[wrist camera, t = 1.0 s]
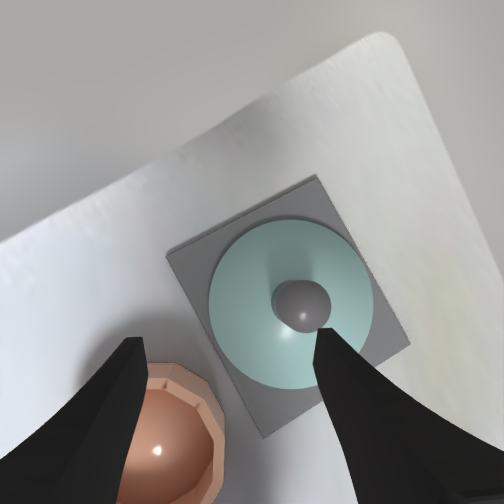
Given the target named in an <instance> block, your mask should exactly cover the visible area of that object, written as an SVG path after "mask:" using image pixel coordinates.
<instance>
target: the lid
mask: <svg viewBox="0 0 504 504" xmlns="http://www.w3.org/2000/svg"><path fill="white" fill-rule="evenodd" d="M209 315H210V321H211V326H212V329H213V332H214V335H215V338H216V340H217V342H218V344H219V346H220V348H221V349H222V351H223V352H224V354H225V356H226V357H227V358H228V359H229V360H230V362H231V363H232V364H233V365H234V366H235V367H236V368H238V369H239V370H240V371H241V372H242V373H244V374H245V375H247V376H248V377H249V378H251V379H253V380H255V381H257V382H259V383H262V384H264V385H267V386H270V387H275V388H280V389H303V388H308V387H312V386H316V385H318V384H317V380H316V377H315V373H314V369H313V365H312V363H313V357H314V350H315V344H316V337H317V330H318V328H333V329H334V330H335V331H336V332H337V333H338V334H339V335H340V336H341V337H342V338H343V339H344V340H345V341H346V342H347V343H348V344H349V345H350V346H351V347H352V348H353V349H354V350H355V351H357V352H358V353H359V352H360V350H361V349H362V347H363V345H364V343H365V341H366V339H367V336H368V334H369V330H370V327H371V323H372V317H373V292H372V287H371V282H370V279H369V276H368V273H367V271H366V269H365V267H364V264H363V262H362V261H361V259H360V258H359V256H358V255H357V253H356V252H355V251H354V250H353V248H352V247H351V246H350V245H349V244H348V243H347V242H346V241H345V240H344V239H343V238H341V237H340V236H339V235H337V234H336V233H334V232H333V231H331V230H329V229H327V228H325V227H323V226H321V225H318V224H316V223H312V222H308V221H303V220H279V221H273V222H270V223H266V224H263V225H261V226H259V227H256V228H254V229H252V230H251V231H249V232H247V233H246V234H244V235H243V236H242V237H240V238H239V239H238V240H237V241H236V242H235V243H234V244H233V245H232V246H231V247H230V248H229V249H228V250H227V252H226V253H225V254H224V256H223V257H222V259H221V261H220V262H219V264H218V266H217V268H216V271H215V273H214V276H213V279H212V283H211V287H210V293H209Z"/></svg>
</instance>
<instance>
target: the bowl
mask: <svg viewBox="0 0 504 504" xmlns="http://www.w3.org/2000/svg"><path fill="white" fill-rule="evenodd" d="M147 367H148V373H149V375H148V381H147V387H146V393H145V398H144V402H143V405H142V409H141V412H140V416H139V419H138V422H137V425H136V429H135V432H134V435H133V439H132V442H131V445H130V449H129V452H128V455H127V458H126V462H125V466H124V469H123V473H122V478H121V482H120V487H119V492H118V497H117V501H116V504H213V502H214V500H215V499H216V497H217V495H218V493H219V491H220V490H221V488H222V486H223V484H224V449H225V422H224V412H223V410H222V408H221V407H220V405H219V403H218V401H217V399H216V397H215V395H214V393H213V392H212V390H211V388H210V386H209V384H208V382H207V381H206V380H204V379H202V378H201V377H199V376H197V375H196V374H194V373H192V372H190V371H189V370H187V369H185V368H184V367H182V366H180V365H179V364H177V363H147Z"/></svg>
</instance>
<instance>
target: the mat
mask: <svg viewBox="0 0 504 504" xmlns="http://www.w3.org/2000/svg"><path fill="white" fill-rule="evenodd" d="M279 220H303V221H308V222H312V223H316V224H318V225H321V226H323V227H325V228H327V229H329V230H331V231H333V232H334V233H336V234H337V235H339V236H340V237H341V238H343V239H344V240H345V241H346V242H347V243H348V244H349V245H350V246H351V247H352V248H353V250H354V251H355V252H356V253H357V255H358V256H359V258H360V259H361V261H362V262H363V264H364V267H365V269H366V271H367V273H368V276H369V279H370V282H371V287H372V292H373V317H372V323H371V327H370V330H369V334H368V336H367V339H366V341H365V343H364V345H363V347H362V349H361V350H360V352H359V354H360V355H361V356H362V357H363V358H364V359H365V360H366V361H367V362H368V363H370V364H371V365H372V366H373V367H376V366H378V365H379V364H381V363H382V362H384V361H385V360H387V359H389V358H390V357H392V356H393V355H395V354H396V353H398V352H399V351H401V350H403V349H404V348H406V347H407V346H409V345H410V344H411V343H410V342H409V340H408V338H407V336H406V335H405V333H404V331H403V329H402V327H401V326H400V324H399V322H398V320H397V318H396V317H395V315H394V313H393V311H392V309H391V308H390V306H389V304H388V302H387V300H386V299H385V297H384V295H383V293H382V292H381V290H380V288H379V286H378V284H377V283H376V281H375V279H374V277H373V275H372V274H371V272H370V270H369V268H368V266H367V265H366V263H365V261H364V259H363V258H362V256H361V254H360V252H359V250H358V249H357V247H356V245H355V243H354V241H353V240H352V238H351V236H350V234H349V232H348V231H347V229H346V227H345V225H344V224H343V222H342V220H341V218H340V216H339V215H338V213H337V211H336V209H335V207H334V206H333V204H332V202H331V200H330V198H329V197H328V195H327V193H326V191H325V190H324V188H323V186H322V184H321V182H320V181H319V179H318V178H316V179H314V180H312V181H310V182H308V183H306V184H305V185H303V186H301V187H299V188H297V189H295V190H293V191H291V192H289V193H287V194H285V195H283V196H281V197H280V198H278V199H276V200H274V201H272V202H270V203H268V204H266V205H264V206H262V207H260V208H258V209H257V210H255V211H253V212H251V213H249V214H247V215H245V216H243V217H241V218H239V219H237V220H235V221H234V222H232V223H230V224H228V225H226V226H224V227H222V228H220V229H218V230H216V231H214V232H212V233H211V234H209V235H207V236H205V237H203V238H201V239H199V240H197V241H195V242H193V243H191V244H189V245H188V246H186V247H184V248H182V249H180V250H178V251H176V252H174V253H172V254H170V255H168V256H166V258H167V260H168V262H169V264H170V266H171V268H172V269H173V271H174V273H175V275H176V277H177V279H178V281H179V282H180V284H181V286H182V288H183V290H184V292H185V294H186V296H187V297H188V299H189V301H190V303H191V305H192V307H193V309H194V310H195V312H196V314H197V316H198V318H199V320H200V322H201V323H202V325H203V327H204V329H205V331H206V333H207V335H208V337H209V338H210V340H211V342H212V344H213V346H214V348H215V350H216V351H217V353H218V355H219V357H220V359H221V361H222V363H223V364H224V366H225V368H226V370H227V372H228V374H229V376H230V377H231V379H232V381H233V383H234V385H235V387H236V389H237V391H238V392H239V394H240V396H241V398H242V400H243V402H244V404H245V405H246V407H247V409H248V411H249V413H250V415H251V417H252V418H253V420H254V422H255V424H256V426H257V428H258V430H259V431H260V433H261V435H262V437H263V439H264V438H265V437H267V436H268V435H270V434H271V433H273V432H275V431H276V430H278V429H279V428H281V427H282V426H284V425H285V424H287V423H289V422H290V421H292V420H293V419H295V418H296V417H298V416H300V415H301V414H303V413H304V412H306V411H307V410H309V409H310V408H312V407H314V406H315V405H317V404H318V403H320V402H321V401H323V398H322V395H321V393H320V390H319V388H318V385H316V386H312V387H308V388H303V389H280V388H275V387H270V386H267V385H264V384H262V383H259V382H257V381H255V380H253V379H251V378H249V377H248V376H247V375H245V374H244V373H242V372H241V371H240V370H239V369H238V368H236V367H235V366H234V365H233V364H232V363H231V362H230V360H229V359H228V358H227V357H226V356H225V354H224V352H223V351H222V349H221V348H220V346H219V344H218V342H217V340H216V338H215V335H214V332H213V329H212V326H211V321H210V315H209V293H210V287H211V283H212V279H213V276H214V273H215V271H216V268H217V266H218V264H219V262H220V261H221V259H222V257H223V256H224V254H225V253H226V252H227V250H228V249H229V248H230V247H231V246H232V245H233V244H234V243H235V242H236V241H237V240H238V239H239V238H240V237H242V236H243V235H244V234H246V233H247V232H249V231H251V230H252V229H254V228H256V227H259V226H261V225H263V224H266V223H270V222H273V221H279Z"/></svg>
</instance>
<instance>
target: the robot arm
mask: <svg viewBox="0 0 504 504" xmlns="http://www.w3.org/2000/svg"><path fill="white" fill-rule="evenodd" d="M312 365H313V369H314V373H315V377H316V380H317V384H318V388H319V390H320V393H321V395H322V398H323V401H324V403H325V406H326V408H327V411H328V413H329V416H330V418H331V421H332V423H333V426H334V429H335V431H336V434H337V436H338V439H339V441H340V444H341V447H342V450H343V452H344V456H345V459H346V462H347V466H348V469H349V472H350V476H351V479H352V483H353V486H354V490H355V494H356V497H357V501H358V504H504V451H502V450H500V449H498V448H496V447H494V446H492V445H490V444H488V443H486V442H484V441H482V440H480V439H478V438H477V437H475V436H473V435H471V434H469V433H468V432H466V431H464V430H462V429H460V428H459V427H457V426H455V425H454V424H452V423H450V422H449V421H447V420H445V419H444V418H442V417H441V416H439V415H438V414H436V413H434V412H433V411H431V410H430V409H428V408H427V407H425V406H424V405H422V404H421V403H419V402H418V401H416V400H415V399H414V398H412V397H411V396H409V395H408V394H407V393H405V392H404V391H403V390H401V389H400V388H398V387H397V386H396V385H395V384H393V383H392V382H391V381H390V380H388V379H387V378H386V377H385V376H384V375H382V374H381V373H380V372H379V371H378V370H376V369H375V368H374V367H373V366H372V365H371V364H370V363H368V362H367V361H366V360H365V359H364V358H363V357H362V356H361V355H360V354H359V353H358V352H357V351H355V350H354V349H353V348H352V347H351V346H350V345H349V344H348V343H347V342H346V341H345V340H344V339H343V338H342V337H341V336H340V335H339V334H338V333H337V332H336V331H335V330H334V329H333V328H318V330H317V337H316V344H315V350H314V357H313V363H312ZM148 375H149V373H148V367H147V361H146V356H145V350H144V344H143V338H142V337H128V338H125V339H124V340H123V342H122V343H121V344H120V345H119V346H118V348H117V349H116V350H115V351H114V352H113V353H112V355H111V356H110V357H109V358H108V359H107V361H106V362H105V363H104V364H103V365H102V366H101V367H100V368H99V370H98V371H97V372H96V373H95V374H94V375H93V376H92V377H91V378H90V380H89V381H88V382H87V383H86V384H85V385H84V386H83V387H82V388H81V389H80V390H79V391H78V392H77V393H76V394H75V395H74V396H73V397H72V398H71V399H70V400H69V401H68V402H67V403H66V404H65V405H64V406H63V407H62V408H61V409H60V410H59V411H58V412H57V413H56V414H55V415H54V416H52V417H51V418H50V419H49V420H48V421H47V422H46V423H45V424H44V425H42V426H41V427H40V428H39V429H38V430H37V431H35V432H34V433H33V434H32V435H31V436H29V437H28V438H27V439H26V440H24V441H23V442H22V443H21V444H19V445H18V446H17V447H16V448H14V449H13V450H12V451H11V452H9V453H8V454H7V455H6V456H4V457H3V458H2V459H0V504H116V501H117V497H118V492H119V487H120V482H121V478H122V473H123V469H124V466H125V462H126V458H127V455H128V452H129V449H130V445H131V442H132V439H133V435H134V432H135V429H136V425H137V422H138V419H139V416H140V412H141V409H142V405H143V402H144V398H145V393H146V387H147V381H148Z"/></svg>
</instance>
